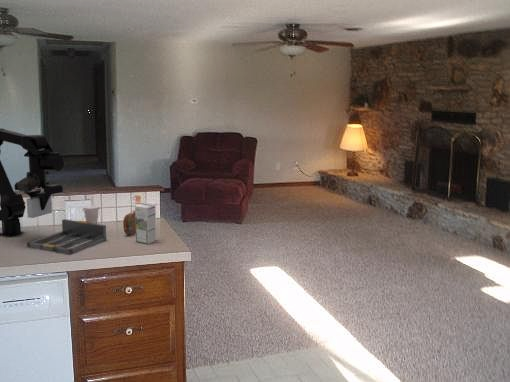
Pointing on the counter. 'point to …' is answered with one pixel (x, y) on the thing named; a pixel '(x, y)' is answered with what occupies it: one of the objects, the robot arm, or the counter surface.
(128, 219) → the tin
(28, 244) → the rack
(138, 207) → the syrup box
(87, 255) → the counter surface
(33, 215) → the panel
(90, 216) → the smoothie
